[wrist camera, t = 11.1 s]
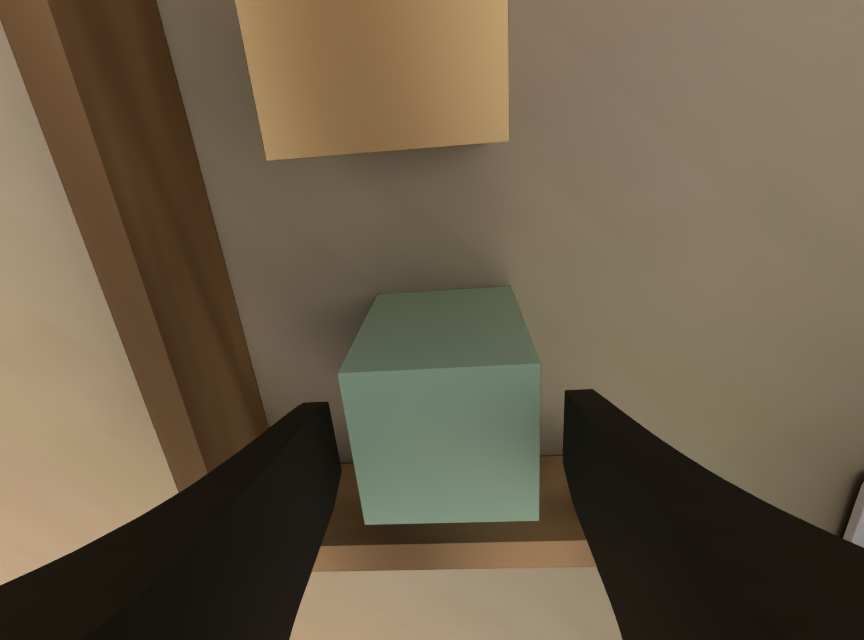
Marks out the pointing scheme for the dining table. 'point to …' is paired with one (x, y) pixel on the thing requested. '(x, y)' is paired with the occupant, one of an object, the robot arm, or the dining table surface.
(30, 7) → the corral
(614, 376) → the dining table surface
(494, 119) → the oak block
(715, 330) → the dining table surface
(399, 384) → the teal block
